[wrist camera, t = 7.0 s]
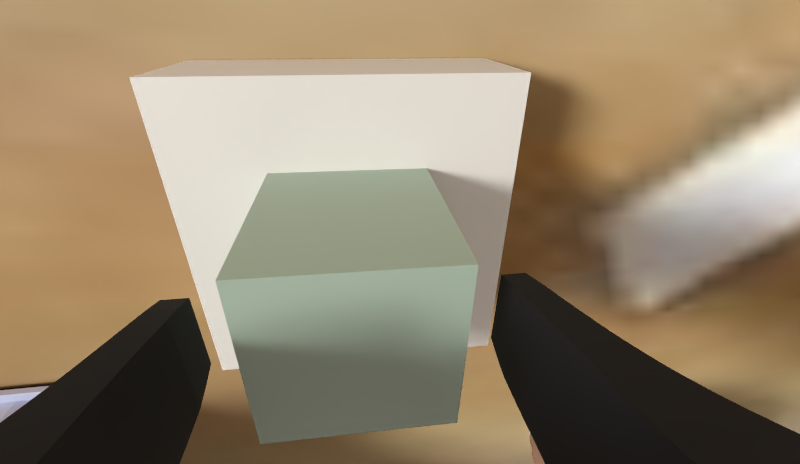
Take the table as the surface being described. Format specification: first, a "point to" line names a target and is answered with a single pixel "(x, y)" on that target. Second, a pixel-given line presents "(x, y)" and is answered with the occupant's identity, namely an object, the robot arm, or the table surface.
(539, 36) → the table surface
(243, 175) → the painted block
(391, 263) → the green cube
